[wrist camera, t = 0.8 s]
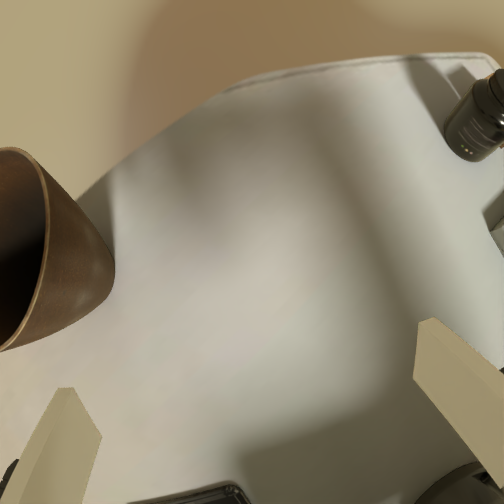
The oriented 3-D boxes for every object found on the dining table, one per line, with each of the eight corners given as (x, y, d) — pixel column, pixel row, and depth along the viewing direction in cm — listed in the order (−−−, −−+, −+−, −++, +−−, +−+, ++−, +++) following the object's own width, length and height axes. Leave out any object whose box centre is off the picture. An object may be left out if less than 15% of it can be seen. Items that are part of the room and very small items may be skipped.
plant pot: (24, 255, 33) (-74, 227, 17) (110, 180, 34) (23, 109, 18) (72, 365, 30) (-36, 387, 15) (174, 294, 31) (83, 280, 15)
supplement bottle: (449, 106, 32) (491, 49, 21) (489, 137, 31) (539, 89, 20) (435, 142, 32) (484, 84, 20) (479, 175, 31) (537, 130, 19)
